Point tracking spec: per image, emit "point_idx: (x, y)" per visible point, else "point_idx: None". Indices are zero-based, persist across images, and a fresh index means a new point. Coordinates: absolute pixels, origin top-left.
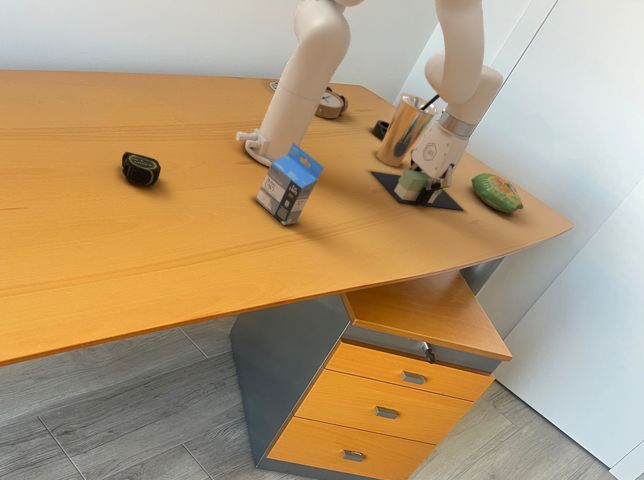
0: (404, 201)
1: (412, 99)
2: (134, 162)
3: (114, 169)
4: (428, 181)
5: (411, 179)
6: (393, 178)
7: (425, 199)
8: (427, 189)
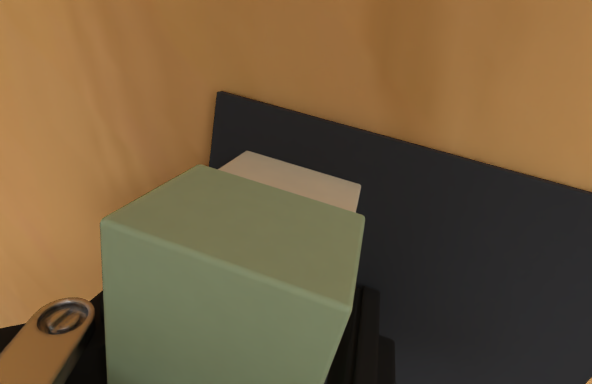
0: (221, 148)
1: None
2: None
3: None
4: (51, 367)
5: (149, 215)
6: (516, 356)
7: None
8: (74, 300)
